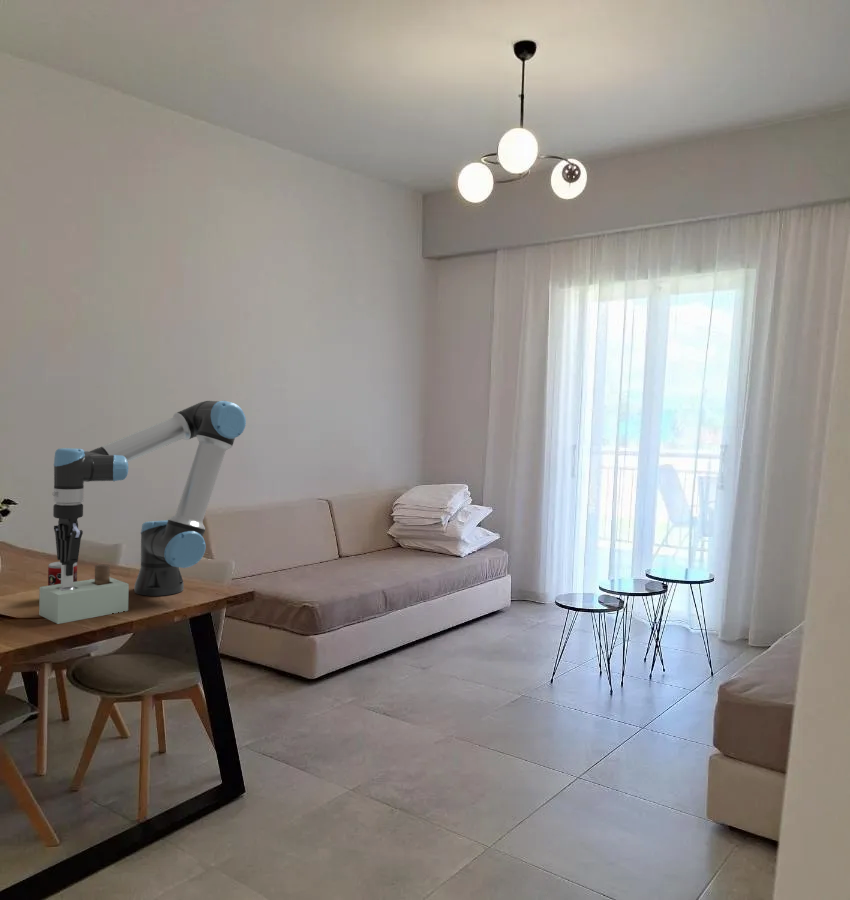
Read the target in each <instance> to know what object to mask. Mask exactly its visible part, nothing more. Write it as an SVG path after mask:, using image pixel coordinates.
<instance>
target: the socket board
mask: <svg viewBox="0 0 850 900" xmlns="http://www.w3.org/2000/svg"><path fill="white" fill-rule="evenodd" d="M73 586H75V589H72V590H65V591H61V590H59V587H61V584H56V585H49V586H48V585H43V586H39V599H38V601H39V603H38V606H39V608H38V609H39V611H38V615H39V616H41V617H42V618H45V619H46V620H49V621H51V622H53V623H55V624H57V625H59V624H65V623H70V622H75V621H76V622H77V621H82V620H86V619H92V618H96V617H98V618H99V617H102V616H107V615H112V613H114V614H118V612H119V613H124V612H123V611H125V612H128V611H129V591H130V590H129V583H127V582H125V581H122V580H119V579H116V578H113V577H111V576H110V583H109V584H104V585H95V578H92V579H91V578H90V579H85V580H77V582H73Z"/></svg>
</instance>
